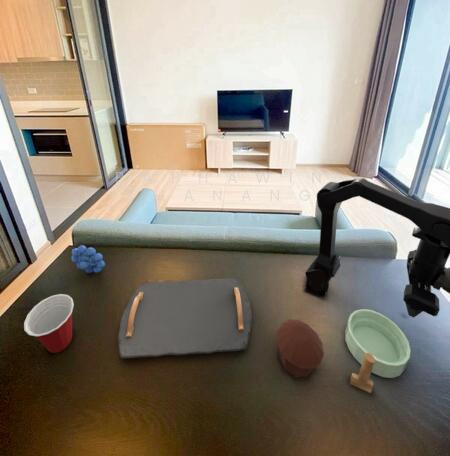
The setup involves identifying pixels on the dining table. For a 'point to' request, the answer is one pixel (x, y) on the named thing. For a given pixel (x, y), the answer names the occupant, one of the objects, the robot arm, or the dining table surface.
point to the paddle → (364, 374)
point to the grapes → (87, 259)
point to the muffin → (299, 348)
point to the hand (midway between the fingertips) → (412, 302)
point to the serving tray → (185, 319)
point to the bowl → (377, 342)
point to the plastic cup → (51, 322)
